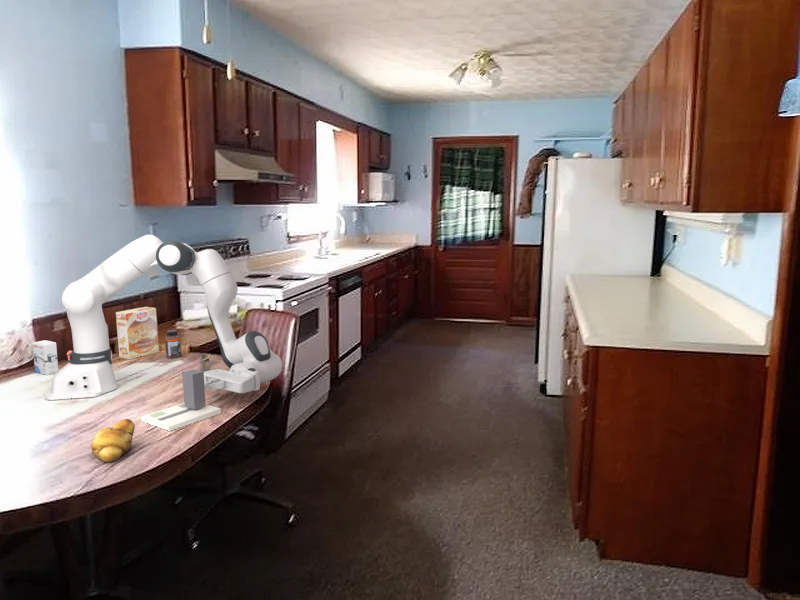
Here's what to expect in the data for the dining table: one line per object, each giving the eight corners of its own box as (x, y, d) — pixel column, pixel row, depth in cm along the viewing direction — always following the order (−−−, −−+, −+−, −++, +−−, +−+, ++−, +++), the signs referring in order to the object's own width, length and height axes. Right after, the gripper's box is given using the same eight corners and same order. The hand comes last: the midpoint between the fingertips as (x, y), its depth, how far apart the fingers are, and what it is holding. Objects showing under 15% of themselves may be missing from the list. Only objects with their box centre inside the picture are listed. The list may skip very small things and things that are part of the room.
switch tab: (194, 409, 184) (192, 374, 183) (184, 406, 187) (182, 372, 185) (205, 406, 188) (203, 371, 186) (195, 403, 190) (193, 369, 189)
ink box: (34, 372, 233) (31, 342, 231) (47, 369, 238) (44, 339, 236) (46, 375, 229) (43, 345, 227) (59, 372, 233) (56, 342, 231)
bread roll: (123, 464, 152) (120, 434, 150) (82, 466, 151) (79, 436, 149) (138, 443, 164) (136, 415, 163) (101, 446, 163) (98, 417, 162)
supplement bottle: (167, 355, 256) (165, 329, 255) (182, 354, 258) (180, 328, 256) (165, 359, 251) (163, 332, 249) (180, 358, 252) (178, 331, 250)
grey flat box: (212, 380, 222) (210, 355, 220) (203, 381, 221) (202, 355, 219) (209, 372, 232) (208, 348, 231) (201, 373, 231) (199, 348, 229)
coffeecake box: (129, 359, 250) (125, 313, 247) (118, 357, 253) (114, 311, 250) (160, 351, 263) (156, 307, 260) (149, 349, 266) (145, 306, 263)
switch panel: (169, 431, 172) (169, 426, 172) (141, 421, 180) (140, 416, 180) (220, 413, 187) (220, 408, 187) (192, 404, 195) (192, 399, 195)
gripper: (220, 362, 207) (186, 371, 196) (262, 371, 196) (227, 382, 184) (221, 380, 208) (187, 390, 197) (263, 390, 197) (228, 402, 185)
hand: (207, 386), depth 191 cm, fingers closed
